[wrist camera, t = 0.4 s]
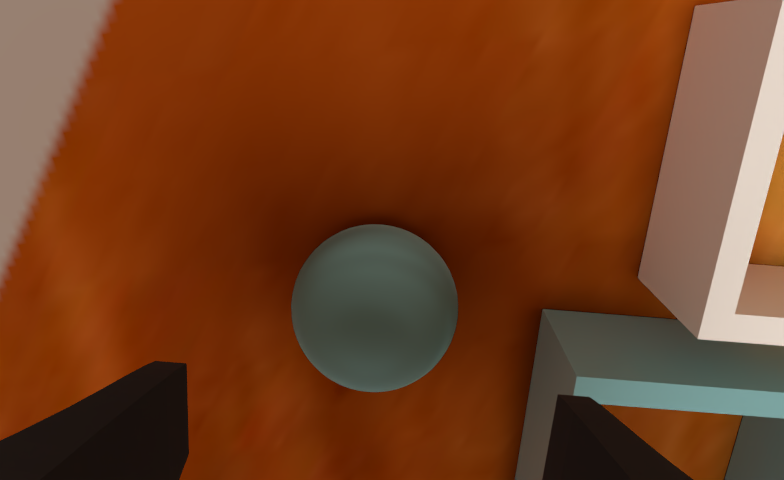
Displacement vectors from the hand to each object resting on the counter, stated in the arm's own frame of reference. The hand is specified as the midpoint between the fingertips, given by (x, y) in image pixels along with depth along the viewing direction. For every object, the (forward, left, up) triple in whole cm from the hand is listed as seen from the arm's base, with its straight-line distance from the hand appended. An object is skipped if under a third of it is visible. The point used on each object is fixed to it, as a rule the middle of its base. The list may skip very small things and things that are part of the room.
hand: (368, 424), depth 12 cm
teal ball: (-1, 0, -7) cm, 7 cm away
